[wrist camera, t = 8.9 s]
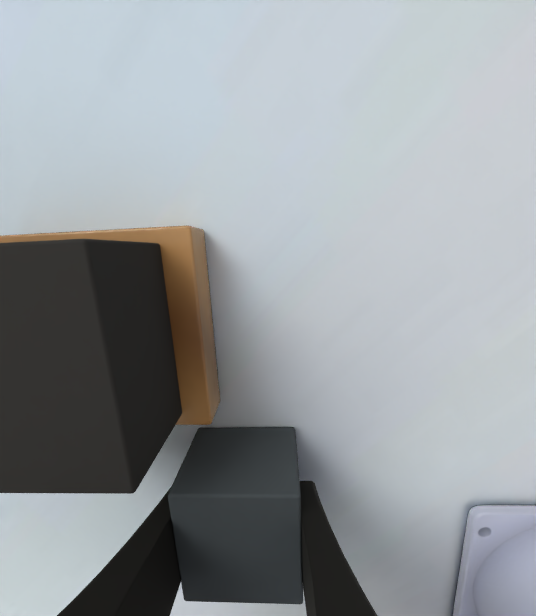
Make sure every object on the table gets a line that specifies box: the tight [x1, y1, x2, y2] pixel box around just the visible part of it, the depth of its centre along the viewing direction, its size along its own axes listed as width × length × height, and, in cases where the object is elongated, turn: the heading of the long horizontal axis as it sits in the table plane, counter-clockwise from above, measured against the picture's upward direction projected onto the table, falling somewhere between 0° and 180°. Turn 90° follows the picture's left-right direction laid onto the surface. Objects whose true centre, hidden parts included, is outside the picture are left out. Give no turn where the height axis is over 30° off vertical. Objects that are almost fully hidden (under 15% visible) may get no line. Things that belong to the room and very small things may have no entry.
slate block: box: [168, 427, 303, 604], centre depth 10 cm, size 5×4×3 cm
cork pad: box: [0, 226, 220, 425], centre depth 10 cm, size 7×7×2 cm
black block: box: [0, 239, 182, 493], centre depth 7 cm, size 6×5×3 cm
